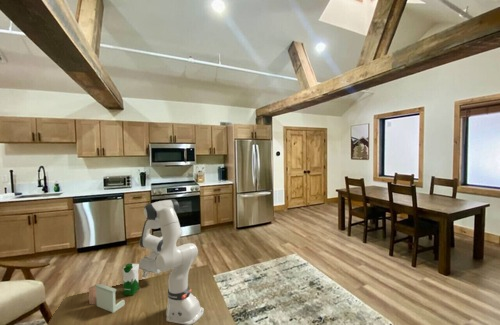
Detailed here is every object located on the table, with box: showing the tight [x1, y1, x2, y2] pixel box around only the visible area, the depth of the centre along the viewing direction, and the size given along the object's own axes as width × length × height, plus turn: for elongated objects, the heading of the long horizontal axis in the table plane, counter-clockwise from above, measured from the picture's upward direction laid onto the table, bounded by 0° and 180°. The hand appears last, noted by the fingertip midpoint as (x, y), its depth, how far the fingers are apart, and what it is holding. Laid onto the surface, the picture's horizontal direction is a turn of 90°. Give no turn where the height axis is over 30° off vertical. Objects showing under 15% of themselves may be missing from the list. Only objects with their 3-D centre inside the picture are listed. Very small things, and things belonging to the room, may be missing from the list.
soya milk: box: [121, 262, 140, 296], centre depth 153 cm, size 9×9×20 cm
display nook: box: [95, 283, 125, 314], centre depth 140 cm, size 15×8×13 cm, turn 67°
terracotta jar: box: [88, 284, 97, 305], centre depth 144 cm, size 6×6×9 cm
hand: (143, 277), depth 163 cm, fingers closed
